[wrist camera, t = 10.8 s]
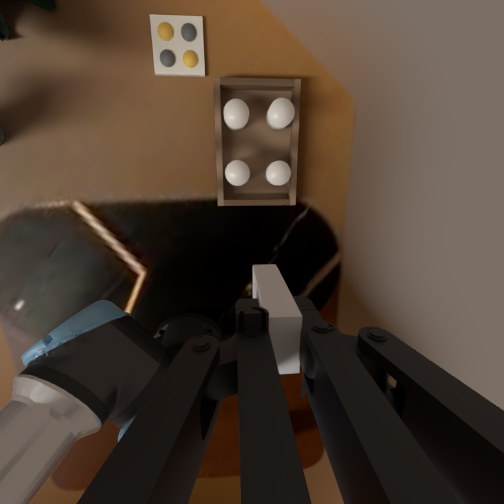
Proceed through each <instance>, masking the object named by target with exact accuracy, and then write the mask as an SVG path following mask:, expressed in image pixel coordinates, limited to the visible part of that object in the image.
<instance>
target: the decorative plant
mask: <svg viewBox="0 0 504 504" xmlns="http://www.w3.org/2000/svg"><path fill="white" fill-rule="evenodd" d="M27 1H29V2H31V3H33V4H35V5H37V6H39V7H41V8H43V9H46V10H51V9H53V8H54V7H55V2H54V0H27ZM8 37H9V30H8V27H7V25H6V23H5V21H4V20H3V18H2V16H1V14H0V40H2V41H3V40H5V39H6V38H8Z"/></svg>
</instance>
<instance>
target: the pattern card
mask: <svg viewBox="0 0 504 504" xmlns="http://www.w3.org/2000/svg"><path fill="white" fill-rule="evenodd" d="M150 23H151V34H152V45H153V56H154V67H155V75H158V76H197V77H205V61H204V38H203V18H202V16H179V15H155V14H150Z"/></svg>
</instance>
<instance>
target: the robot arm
mask: <svg viewBox="0 0 504 504" xmlns="http://www.w3.org/2000/svg"><path fill="white" fill-rule="evenodd" d="M235 307H236V333H235V334H234V336H232V337H231V338H230V339H228V340H225V341H224V337H223V334H222V331H221V330H220V328H219V327H218V325H217V324H216V323H215V322H214V321H212V320H211V319H210V318H208V317H206V316H204V315H201V314H197V313H180V314H176V315H174V316H171V317H169V318H168V319H166V320H165V321H164V322H163V323H162V324H161V325H160V326H159V327H158V329H157V331H156V333H155V335H154V336H153V335H152V334H150V333H149V332H148V331H147V330H146V329H144V328H143V327H142V326H141V325H140V324H139V323H137V322H136V321H135V320H134V319H133V318H132V317H130V316H129V315H130V314H129V313H127V312H124V311H122V310H121V309H120V308H118V307H117V306H116V305H114V304H113V303H112V302H110V301H107V300H100V301H97V302H94V303H93V304H91V305H89V306H87V307H86V308H84V309H83V310H81V311H80V312H78V313H77V314H75V315H74V316H72V317H71V318H70V319H68V320H67V321H65V322H64V323H62V324H61V325H60V326H58V327H57V328H56V329H54V330H53V331H52V332H51V333H50V334H49V335H47V336H45V337H44V338H43V339H42V340H40V341H38V342H37V343H36V344H34V345H33V346H32V347H31V348H30V349H28V350H27V351H26V352H25V353H24V354H23V355H22V360H23V364H25V365H27V366H28V367H27V368H26V369H25V370H23V371H22V372H21V373H20V374H19V375H18V376H17V377H16V378H15V379H14V384H13V395H12V399H11V401H10V402H9V403H8V404H7V405H6V406H5V407H4V408H3V409H2V410H1V411H0V504H30V503H31V502H32V500H33V499H34V498H35V496H36V495H37V493H38V492H39V491H40V489H41V488H42V487H43V485H44V484H45V483H46V481H47V480H48V478H49V477H50V476H51V474H52V473H53V472H54V470H55V469H56V468H57V466H58V465H59V463H60V462H61V461H62V459H63V458H64V457H65V455H66V454H67V453H68V451H69V450H70V448H71V447H72V446H73V444H74V443H75V442H76V440H78V439H80V438H81V437H84V436H87V435H89V434H92V433H95V432H97V431H99V429H100V428H101V427H102V425H103V424H104V422H105V421H106V420H107V419H108V420H109V421H111V422H112V423H113V424H115V425H116V426H118V427H119V428H121V430H120V433H119V436H118V443H117V445H116V446H115V448H114V449H113V451H112V452H111V454H110V455H109V457H108V458H107V460H106V461H105V463H104V464H103V465H102V467H101V468H100V470H99V471H98V473H97V474H96V476H95V477H94V479H93V480H92V482H91V483H90V485H89V486H88V488H87V489H86V491H85V492H84V494H83V495H82V497H81V498H80V500H79V501H78V503H77V504H188V502H189V499H190V496H191V493H192V490H193V487H194V484H195V481H196V478H197V475H198V472H199V469H200V466H201V463H202V460H203V457H204V454H205V451H206V448H207V445H208V442H209V439H210V436H211V433H212V430H213V427H214V424H215V421H216V418H217V415H218V412H219V409H220V406H221V400H222V399H223V398H226V397H229V396H232V395H234V394H237V393H238V421H239V455H240V488H241V504H311V500H310V496H309V492H308V488H307V484H306V480H305V476H304V472H303V468H302V464H301V460H300V456H299V452H298V447H297V443H296V439H295V435H294V431H293V427H292V423H291V419H290V415H289V411H288V407H287V403H286V399H285V395H284V391H283V387H282V383H281V379H280V375H279V374H290V373H299V367H300V364H301V367H302V369H303V372H302V388H301V396H302V397H304V393H305V391H306V394H307V396H308V399H309V402H310V405H311V408H312V411H313V414H314V417H315V420H316V423H317V426H318V428H319V431H320V434H321V437H322V440H323V443H324V446H325V449H326V452H327V455H328V458H329V460H330V463H331V466H332V469H333V472H334V475H335V478H336V481H337V484H338V487H339V490H340V493H341V495H342V498H343V501H344V504H504V411H503V410H502V409H500V408H499V407H497V406H496V405H494V404H493V403H491V402H490V401H489V400H487V399H486V398H484V397H483V396H481V395H480V394H478V393H477V392H475V391H474V390H472V389H471V388H469V387H468V386H467V385H465V384H464V383H462V382H461V381H459V380H458V379H457V378H455V377H454V376H452V375H451V374H449V373H448V372H446V371H445V370H443V369H442V368H440V367H439V366H438V365H436V364H434V363H433V362H432V361H430V360H429V359H427V358H426V357H424V356H423V355H422V354H420V353H418V352H417V351H416V350H414V349H413V348H411V347H410V346H408V345H407V344H406V343H404V342H402V341H401V340H400V339H398V338H397V337H395V336H394V335H392V334H391V333H389V332H387V331H386V330H383V329H380V328H378V327H364V328H361V329H360V330H359V333H358V336H351V335H346V334H341V333H340V331H339V330H338V328H337V327H336V326H335V325H334V324H332V323H330V322H327V321H324V320H323V318H322V317H321V315H320V314H319V312H318V310H317V309H316V307H315V306H314V304H313V303H312V301H311V300H310V299H308V298H307V297H305V296H292V295H291V293H290V291H289V289H288V287H287V285H286V283H285V281H284V279H283V277H282V275H281V273H280V272H279V270H278V268H277V266H276V264H270V265H253V298H248V299H239V300H238V301H237V302H236V303H235ZM389 376H392V377H393V378H394V379H395V380H396V381H397V383H396V387H395V388H394V387H393V386H392V385H390V384H389Z"/></svg>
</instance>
